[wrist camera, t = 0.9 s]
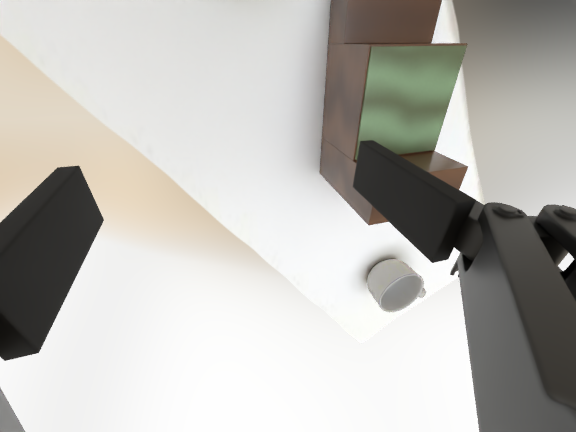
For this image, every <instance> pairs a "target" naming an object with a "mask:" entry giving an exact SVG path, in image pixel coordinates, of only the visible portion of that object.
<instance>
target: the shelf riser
mask: <svg viewBox="0 0 576 432" xmlns="http://www.w3.org/2000/svg"><path fill="white" fill-rule="evenodd" d="M441 1H442V0H331V11H330V26H329V41H328V55H327V70H326V85H325V100H324V115H323V130H322V146H321V161H320V174H321V175H322V176H323V177H324V178H325V179H326V181H327V182H328V183H329V184H330V185H331V186H332V187H333V188H334V189H335V190H336V191H337V192H338V193H339V194H340V195H341V196H342V198H343V199H344V200H345V201H346V202H347V203H348V204H349V205H350V206H351V207H352V208H353V209H354V210H355V211H356V212H357V213H358V215H359V216H360V217H361V218H362V219H363V220H364V221H365V222H366V223H367V224H368V225H373V224H378V223H384V222H389V221H388V220H387V219H386V218H385V217H384V216H383V215H382V214H380V213H379V212H378V211H377V210H376V209H375V208H374V207H373V206H372V205H371V204H370V203H369V202H368V201H367V200H366V199H365V198H364V197H363V196H362V195H360V194H359V193H358V192H357V191H356V190H355V189H354V188H353V181H354V175H355V169H356V163H357V157H358V152H359V146H360V141H368V140H374V141H375V142H377V143H379V144H380V145H382V146H384V147H386V148H387V149H389V150H391V151H393V152H394V153H396V154H398V155H399V156H401V157H403V158H405V159H406V160H408V161H410V162H411V163H413V164H415V165H417V166H418V167H420V168H422V169H423V170H425V171H427V172H429V173H430V174H432V175H434V176H436V177H437V178H439V179H441V180H442V181H444V182H446V183H448V184H449V185H451V186H453V187H454V188H456V189H458V190H459V188H460V186H461V183H462V181H463V178H464V176H465V173H466V171H467V168H468V166H465V165H463V164H461V163H459V162H457V161H455V160H452V159H450V158H448V157H446V156H444V155H442V154H439V153H437V152H435V151H434V150H435V147H436V144H437V141H438V137H439V134H440V131H441V128H442V125H443V121H444V118H445V115H446V112H447V108H448V105H449V102H450V99H451V96H452V92H453V89H454V86H455V83H456V80H457V76H458V73H459V70H460V67H461V63H462V60H463V57H464V54H465V51H466V47H467V43H431V42H432V38H433V34H434V30H435V26H436V22H437V18H438V14H439V10H440V6H441Z"/></svg>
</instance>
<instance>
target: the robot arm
mask: <svg viewBox="0 0 576 432" xmlns="http://www.w3.org/2000/svg"><path fill="white" fill-rule="evenodd" d="M353 188H354V189H355V190H356V191H357V192H358V193H359V194H360V195H362V196H363V197H364V198H365V199H366V200H367V201H368V202H369V203H370V204H371V205H372V206H373V207H374V208H375V209H376V210H377V211H378V212H379V213H380V214H382V215H383V216H384V217H385V218H386V219H387V220H388V221H389V222H390V223H391V224H392V225H393V226H394V227H395V228H396V229H397V230H398V231H399V232H400V233H401V234H403V235H404V236H405V237H406V238H407V239H408V240H409V241H410V242H411V243H412V244H413V245H414V246H415V247H416V248H417V249H418V250H419V251H420V252H421V253H422V254H424V255H425V256H426V257H427V258H428V259H429V260H430V261H431V262H432V263H434V262H438V261H442V260H447V259H448V258H449V256H450V254H451V252H452V250H453V248H454V247H455V248H456V249H457V250H458V251H460V252H461V253H460V255H459V256H458V258H457V260H456V262H455V264H454V266H453V268H452V270H451V274H450V275H454V273H455V272H456V271H458V270H459V275H458V277H459V278H460V286H461V293H462V301H463V309H464V316H465V324H466V331H467V339H468V346H469V355H470V363H471V370H472V378H473V385H474V393H475V401H476V408H477V416H478V424H479V432H576V209H574V208H571V207H567V206H564V205H562V206H559V205H546V206H544V207H543V209H542V210H541V212H540V213H539V215H538V216H527V215H526V214H525V213H524V212H523V211H522V210H519V209H517V208H515V207H512V206H510V205H506V204H502V203H487V204H485V205H483V204H481V203H480V202H478V201H476V200H475V199H473V198H472V197H470V196H468V195H466V194H465V193H463V192H461V191H460V190H458V189H456V188H454V187H453V186H451V185H449V184H448V183H446V182H444V181H442V180H441V179H439V178H437V177H436V176H434V175H432V174H430V173H429V172H427V171H425V170H423V169H422V168H420V167H418V166H417V165H415V164H413V163H411V162H410V161H408V160H406V159H405V158H403V157H401V156H399V155H398V154H396V153H394V152H393V151H391V150H389V149H387V148H386V147H384V146H382V145H380V144H379V143H377V142H375V141H374V140H368V141H360V146H359V152H358V157H357V163H356V169H355V175H354V181H353ZM103 221H104V220H103V217H102V215H101V213H100V211H99V208H98V206H97V204H96V202H95V200H94V198H93V195H92V193H91V191H90V189H89V187H88V184H87V182H86V180H85V178H84V176H83V174H82V171H81V169H80V167H79V166H71V167H60V168H57V169H56V170H55V171H54V172H53V173H52V174H50V176H49V177H48V178H46V179H45V180H44V181H43V182H42V183H41V184H40V185H39V186H38V187H37V188H36V189H35V190H34V191H33V192H32V193H31V194H30V195H29V196H28V197H27V198H25V199H24V200H23V201H22V202H21V203H20V204H19V205H18V206H17V207H16V208H15V209H14V210H13V211H12V212H11V213H10V214H9V215H8V216H7V217H6V218H5V219H4V220H3V221H2V222H1V223H0V357H1V358H2V359H4V360H10V359H14V358H18V357H23V356H27V355H32V354H36V353H39V351H40V349H41V347H42V345H43V343H44V341H45V339H46V337H47V334H48V333H49V330H50V328H51V327H52V325H53V322H54V320H55V318H56V316H57V314H58V312H59V310H60V308H61V306H62V304H63V302H64V300H65V298H66V296H67V294H68V292H69V290H70V288H71V286H72V284H73V282H74V280H75V278H76V276H77V274H78V271H79V270H80V268H81V265H82V263H83V261H84V259H85V257H86V255H87V253H88V251H89V249H90V247H91V245H92V243H93V241H94V239H95V237H96V235H97V233H98V231H99V229H100V227H101V225H102V223H103ZM568 252H569V253H570V254H571V255H572V256H573V258H574V261H573V262H572V263H571V264H570V265H569V267H568V268H567V269H566V270H564V271H562V270H561V269H560V268H559V267H558V265H559V264H560V262H561V261H562V260H563V258H564V257H565V256H566V255H567V254H568ZM0 432H25V431H24V429H23V427H22V425H21V424H20V422H19V420H18V418H17V416H16V415H15V413H14V411H13V410H12V408H11V406H10V404H9V402H8V401H7V399H6V397H5V395H4V394H3V392H2V390H1V388H0Z"/></svg>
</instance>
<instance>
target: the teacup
mask: <svg viewBox="0 0 576 432" xmlns="http://www.w3.org/2000/svg"><path fill="white" fill-rule="evenodd" d="M423 285H424V282H423V279H422V277H421V276H419V275H418V274H417V273H416V272H415V271H413V270H412V269H411V268H410V267H409V266H408V265H407V264H405V263H404V262H402V261H400V260H397V259H389V260H384V261H381V262H379V263H378V264H376V265H375V266H374V267H373V268H372V270H371V271H370V274H369V276H368V279H367V286H368V289H369V291H370V293H371V294H372V296H373V297H374V299H375V300H376V301H377V303H378V304H379V306H380V308H381V309H382V310H384V311H386V312H396V311H399V310H402V309H404V308H405V307H407V306H409V305H410V304H411V303H412V302H413V301H414V300H415V299H417V297H424V296H425V294H426V291H425V289H424V288H423Z"/></svg>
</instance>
